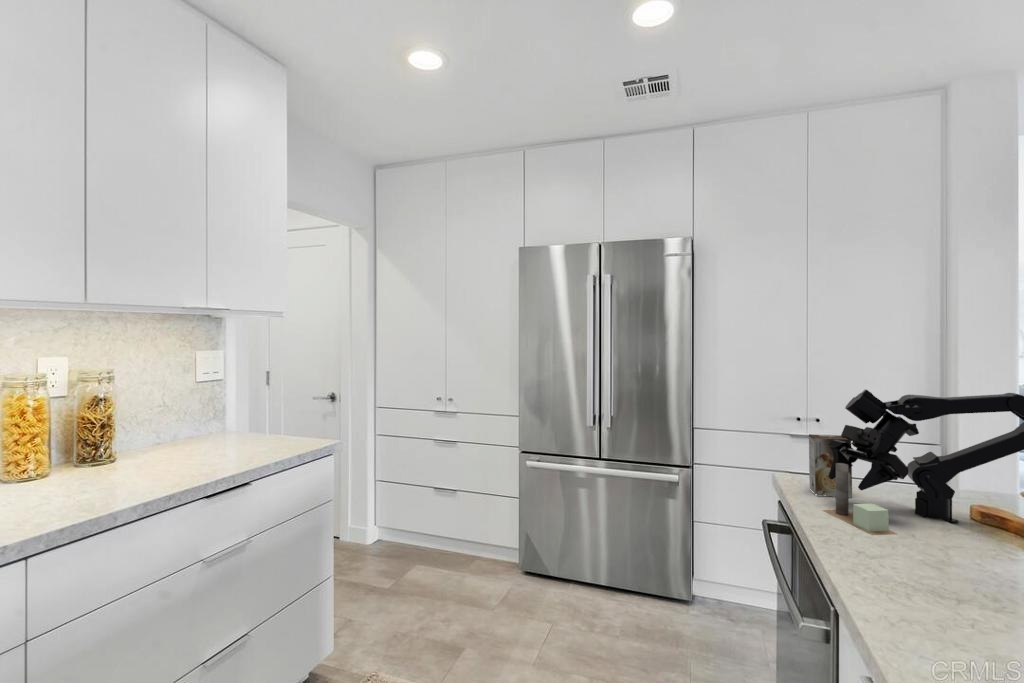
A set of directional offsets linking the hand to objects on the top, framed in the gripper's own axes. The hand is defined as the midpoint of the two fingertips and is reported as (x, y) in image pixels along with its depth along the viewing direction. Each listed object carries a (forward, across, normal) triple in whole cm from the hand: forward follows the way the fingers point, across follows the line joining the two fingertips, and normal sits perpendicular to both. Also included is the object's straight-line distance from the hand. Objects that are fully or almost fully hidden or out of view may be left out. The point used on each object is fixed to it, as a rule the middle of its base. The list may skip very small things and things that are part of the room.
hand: (844, 483), depth 126 cm
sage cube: (+6, +9, +4) cm, 12 cm away
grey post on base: (+7, +5, +5) cm, 10 cm away
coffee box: (-1, -17, +13) cm, 22 cm away
